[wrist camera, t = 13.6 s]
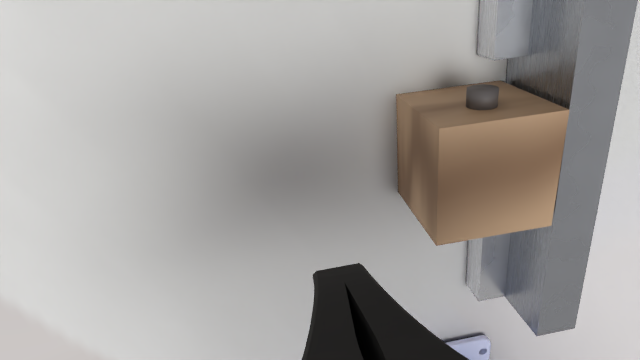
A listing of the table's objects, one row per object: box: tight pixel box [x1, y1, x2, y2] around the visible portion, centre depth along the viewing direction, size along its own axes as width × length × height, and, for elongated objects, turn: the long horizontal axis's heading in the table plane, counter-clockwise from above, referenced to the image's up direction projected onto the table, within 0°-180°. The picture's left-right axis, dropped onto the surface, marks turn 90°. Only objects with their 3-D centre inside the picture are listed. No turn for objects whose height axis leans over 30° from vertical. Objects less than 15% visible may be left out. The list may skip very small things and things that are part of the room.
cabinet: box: [396, 80, 569, 246], centre depth 19 cm, size 6×5×5 cm
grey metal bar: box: [466, 0, 638, 336], centre depth 20 cm, size 16×4×4 cm, turn 6°
